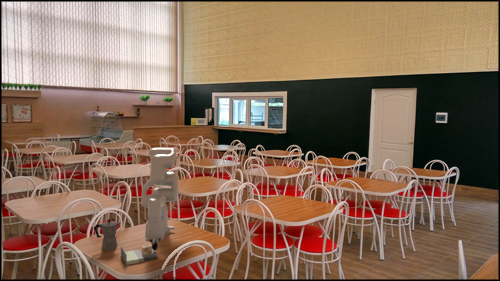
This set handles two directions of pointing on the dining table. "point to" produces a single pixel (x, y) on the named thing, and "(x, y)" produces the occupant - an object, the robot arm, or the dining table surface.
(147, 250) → the maple block
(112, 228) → the coffeepot
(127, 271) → the dining table surface
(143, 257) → the multicoloured piece
